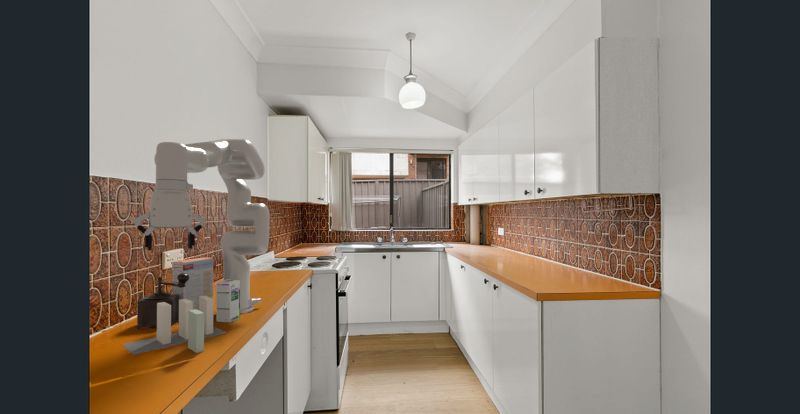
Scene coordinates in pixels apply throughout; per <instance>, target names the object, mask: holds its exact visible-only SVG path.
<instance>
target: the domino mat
mask: <svg viewBox="0 0 800 414" xmlns="http://www.w3.org/2000/svg"><path fill="white" fill-rule="evenodd" d="M225 334H227V332H226V331H223V330H221V329H219V328H217V327H215V326H213V333H212V334H208V335H206V334H204V339H208V338H212V337H216V336H217V337H218V336H221V335H225ZM186 343H187V344H188V339H184V338H183V337H181V336H179V331H178V332H175V333H171V343H168V344H162V343H160V342H159V341H158V340H157V336H155V337H154V336H153V337H151V338H150V337H149V338H146V339H141V340H136V341H131V342H126V343H122V346H123V347H124V348H126V350H127V351H129V353H131V355H139V354H143V353H146V352H151V351H156V350H160V349H165V348H169V347H173V346H178V345H181V344H182V345H183V344H186Z"/></svg>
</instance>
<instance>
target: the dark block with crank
mask: <svg viewBox="0 0 800 414" xmlns="http://www.w3.org/2000/svg"><path fill="white" fill-rule="evenodd" d="M162 277H163V276H157V291H155V292H153V293H151V294H150V295H147V296H145V297H143V298H141V299H139V300H138V301H137V309H136V310H137V312H136V315H137V320H136V321H137V330H139V329H153V328H154V329H155V328H156V329H157V303H161V302H166V303H168V304H170V305H171V327H172V326H173V325H174V324H176V323H177V322H179V294H172V293H169V292H166V291H162V285H164V286H171V287H172V286H177V287H180V288H182V287H185V286H186V285H185V283H186V282H187V281H188V280H189V275H188V274H186V273H181V274H179V275H178V276H177V279H178V284H174V283H172V282H167V281H166V282H165V281H163V280H162V279H163V278H162Z"/></svg>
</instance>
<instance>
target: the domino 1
mask: <svg viewBox="0 0 800 414" xmlns="http://www.w3.org/2000/svg"><path fill="white" fill-rule="evenodd" d="M171 334H172V326H171V305H170V304H168V303H166V302H161V303H157V327H156V337H157V340H158V341H159V342H160V343H162V344H168V343H171Z"/></svg>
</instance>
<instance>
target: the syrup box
mask: <svg viewBox="0 0 800 414" xmlns="http://www.w3.org/2000/svg"><path fill="white" fill-rule="evenodd" d="M215 287H216V288H215V291H216V292H215V294H216V295H215V297H216V300H215V302H216V303H215V304H216V306H215V307H216V311H215V313H216V317H215V318H216V322H219V323H232V322H235V321H237V320H240V319H241V314H240V280H237V279H226V280H224V281H223V280H220V281H217V282H216V284H215Z"/></svg>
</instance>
